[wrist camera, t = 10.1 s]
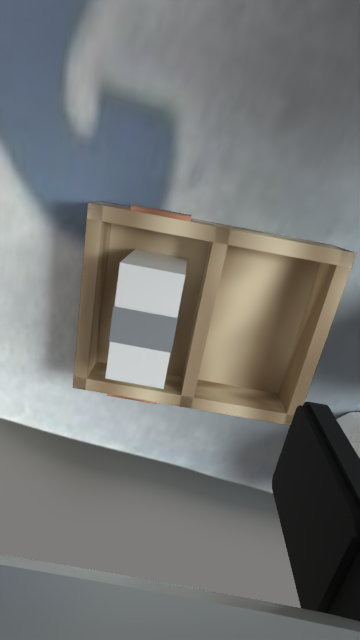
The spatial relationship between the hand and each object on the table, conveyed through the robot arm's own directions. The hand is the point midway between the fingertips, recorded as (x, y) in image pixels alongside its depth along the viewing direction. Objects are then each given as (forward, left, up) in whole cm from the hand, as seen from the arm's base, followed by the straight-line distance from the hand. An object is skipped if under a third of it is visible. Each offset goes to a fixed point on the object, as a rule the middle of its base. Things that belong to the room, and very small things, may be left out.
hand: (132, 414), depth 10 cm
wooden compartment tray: (-3, +2, -19) cm, 19 cm away
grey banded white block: (+1, +2, -18) cm, 18 cm away
